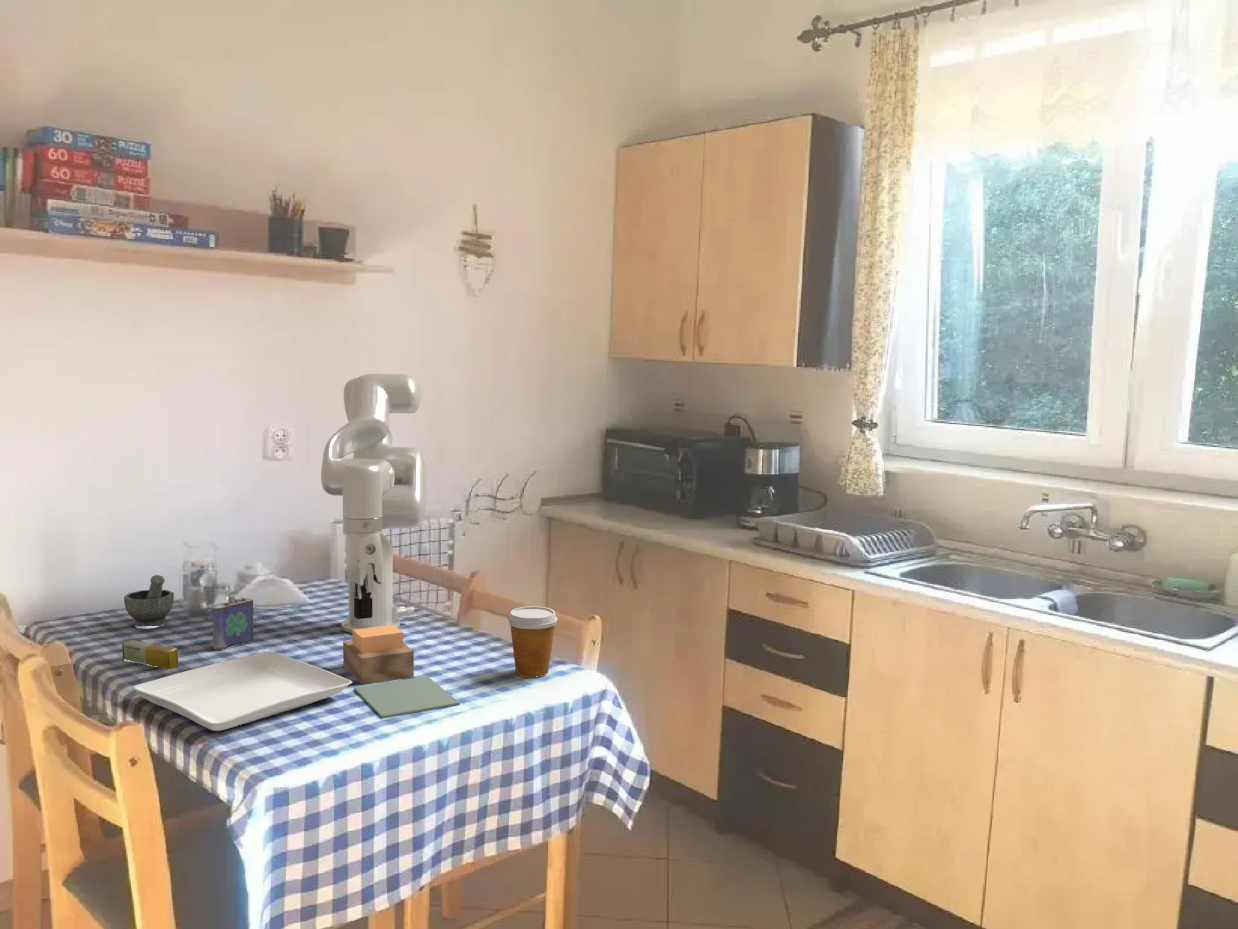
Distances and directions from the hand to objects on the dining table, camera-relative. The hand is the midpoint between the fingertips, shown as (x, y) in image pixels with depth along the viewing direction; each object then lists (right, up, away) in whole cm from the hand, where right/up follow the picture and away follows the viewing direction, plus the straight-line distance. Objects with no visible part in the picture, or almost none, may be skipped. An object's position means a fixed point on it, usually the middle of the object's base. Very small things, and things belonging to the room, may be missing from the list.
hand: (363, 617), depth 205 cm
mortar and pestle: (-52, -5, +21) cm, 56 cm away
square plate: (-15, -12, -23) cm, 30 cm away
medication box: (-40, -9, -4) cm, 41 cm away
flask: (-29, -7, +9) cm, 31 cm away
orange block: (+4, -5, -6) cm, 9 cm away
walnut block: (+4, -10, -6) cm, 12 cm away
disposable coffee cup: (+34, -10, -4) cm, 36 cm away
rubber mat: (+12, -11, -19) cm, 26 cm away
